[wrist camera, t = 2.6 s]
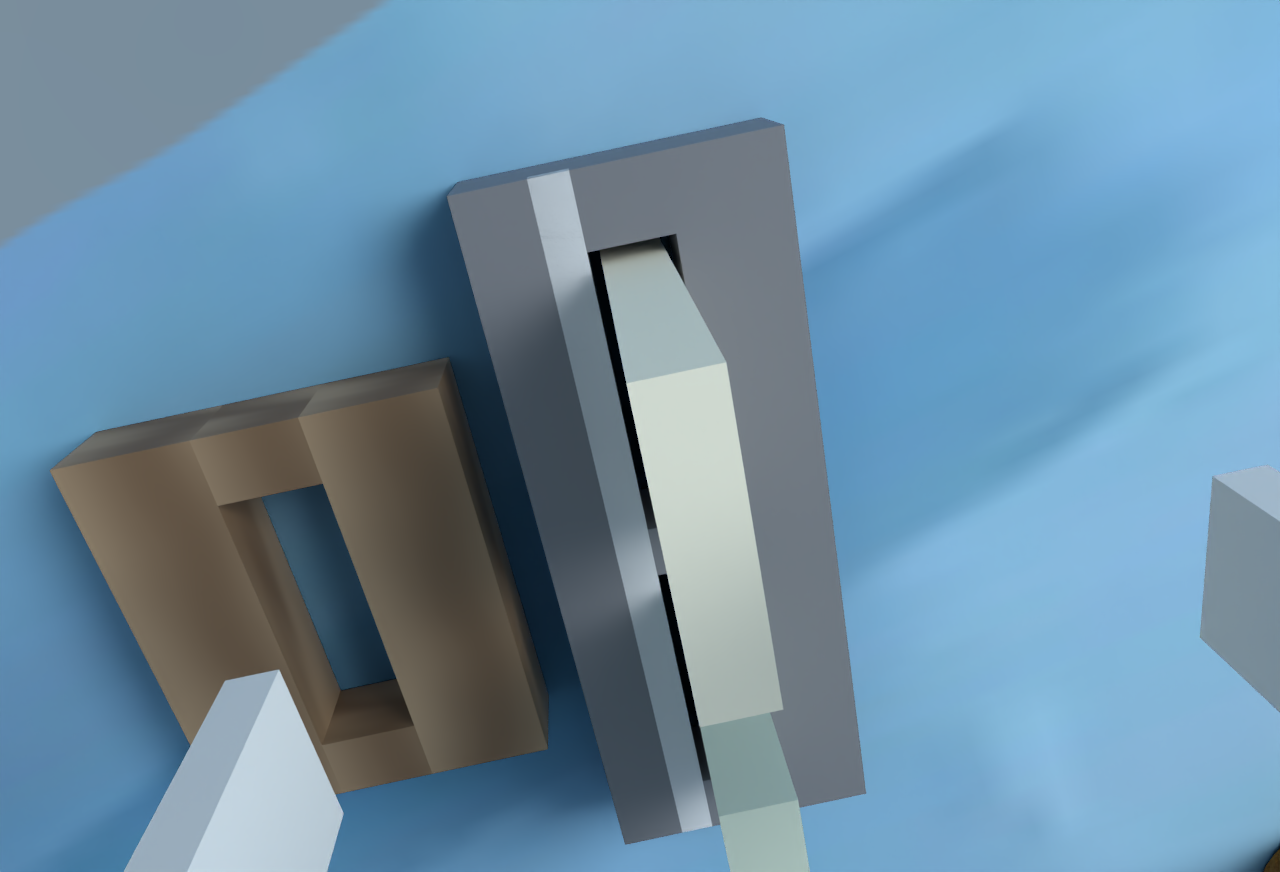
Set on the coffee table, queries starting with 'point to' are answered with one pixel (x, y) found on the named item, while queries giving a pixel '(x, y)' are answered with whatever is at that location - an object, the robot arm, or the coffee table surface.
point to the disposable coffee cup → (1273, 863)
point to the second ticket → (755, 796)
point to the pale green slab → (694, 483)
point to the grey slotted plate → (602, 457)
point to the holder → (266, 589)
